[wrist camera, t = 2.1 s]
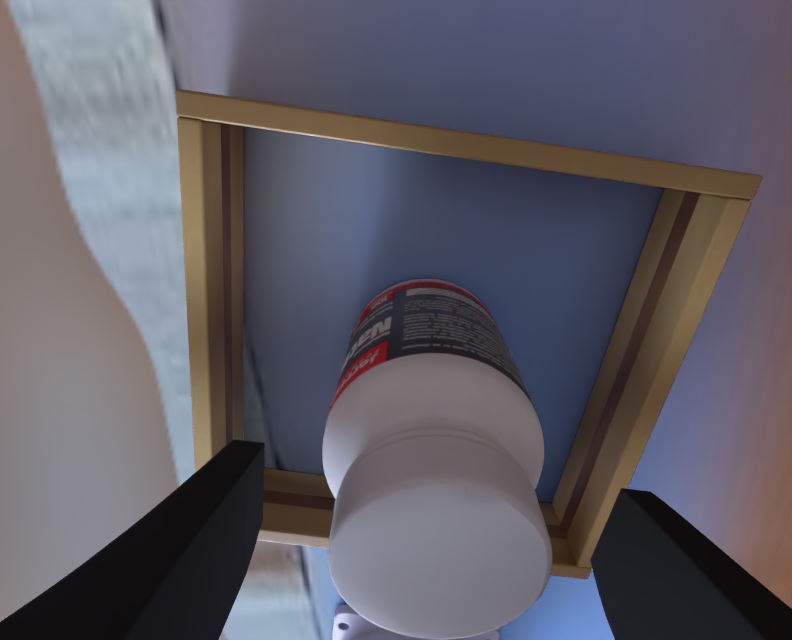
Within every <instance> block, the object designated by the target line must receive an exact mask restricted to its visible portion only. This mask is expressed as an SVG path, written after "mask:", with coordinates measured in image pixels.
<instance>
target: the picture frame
mask: <svg viewBox="0 0 792 640" xmlns="http://www.w3.org/2000/svg"><path fill="white" fill-rule="evenodd" d="M176 106H177V115H178V116H179V118H178V119H177V125H178V145H179V164H180V184H181V203H182V223H183V242H184V261H185V281H186V300H187V320H188V339H189V359H190V378H191V397H192V417H193V436H194V456H195V473H196V472H197V471H198V470H199V469H200V468H201V467H202V466H203V465H205V464H206V463H207V462H208V461H209V460H210V459H211V458H212V457H213V456H215V455H216V454H217V453H218V452H219V451H220V450H221V449H222V448H223V447H225V446H226V445H227V444H228V443H229V442H231V441H232V440H242V441H243V277H244V126H245V127H252V128H259V129H266V130H272V131H279V132H286V133H293V134H300V135H307V136H313V137H320V138H327V139H334V140H341V141H348V142H354V143H361V144H368V145H375V146H382V147H389V148H395V149H402V150H409V151H416V152H423V153H430V154H436V155H443V156H450V157H457V158H464V159H471V160H478V161H484V162H491V163H498V164H505V165H512V166H519V167H525V168H532V169H539V170H546V171H553V172H560V173H566V174H573V175H580V176H587V177H594V178H601V179H607V180H614V181H621V182H628V183H635V184H642V185H648V186H655V187H662V188H664V191H663V194H662V197H661V200H660V202H659V205H658V208H657V211H656V214H655V216H654V219H653V222H652V225H651V228H650V230H649V233H648V236H647V239H646V241H645V244H644V247H643V250H642V253H641V255H640V258H639V261H638V264H637V267H636V269H635V272H634V275H633V278H632V281H631V283H630V286H629V289H628V292H627V295H626V297H625V300H624V303H623V306H622V309H621V311H620V314H619V317H618V320H617V323H616V325H615V328H614V331H613V334H612V337H611V339H610V342H609V345H608V348H607V351H606V353H605V356H604V359H603V362H602V365H601V367H600V370H599V373H598V376H597V379H596V381H595V384H594V387H593V390H592V393H591V395H590V398H589V401H588V404H587V407H586V409H585V412H584V415H583V418H582V421H581V423H580V426H579V429H578V432H577V434H576V437H575V440H574V443H573V446H572V448H571V451H570V454H569V457H568V460H567V462H566V465H565V468H564V471H563V474H562V476H561V479H560V482H559V485H558V488H557V490H556V493H555V496H554V499H553V502H552V504H549V503H541V502H538V503H539V506H540V509H541V512H542V515H543V518H544V521H545V524H546V528H547V531H548V534H549V537H550V542H551V547H552V569H551V574H550V575H554V576H562V577H571V578H579V579H588V577H589V574H590V572H591V568H592V565H591V561H590V559H591V557H592V554H593V552H594V550H595V547H596V545H597V543H598V540H599V538H600V536H601V534H602V531H603V529H604V527H605V524H606V522H607V520H608V517H609V515H610V513H611V510H612V508H613V506H614V503H615V501H616V499H617V497H618V494H619V492H620V490H621V488H624V489H627V487H628V485H629V483H630V480H631V478H632V476H633V473H634V471H635V469H636V467H637V464H638V462H639V460H640V457H641V455H642V453H643V451H644V448H645V446H646V444H647V441H648V439H649V437H650V434H651V432H652V430H653V428H654V425H655V423H656V421H657V418H658V416H659V414H660V412H661V409H662V407H663V405H664V402H665V400H666V398H667V396H668V393H669V391H670V389H671V386H672V384H673V382H674V380H675V377H676V375H677V373H678V370H679V368H680V366H681V363H682V361H683V359H684V357H685V354H686V352H687V350H688V347H689V345H690V343H691V341H692V338H693V336H694V334H695V331H696V329H697V327H698V325H699V322H700V320H701V318H702V315H703V313H704V311H705V308H706V306H707V304H708V302H709V299H710V297H711V295H712V292H713V290H714V288H715V286H716V283H717V281H718V279H719V276H720V274H721V272H722V270H723V267H724V265H725V263H726V260H727V258H728V256H729V254H730V251H731V249H732V247H733V244H734V242H735V240H736V237H737V235H738V233H739V231H740V228H741V226H742V224H743V221H744V219H745V217H746V215H747V212H748V210H749V208H750V205H751V201H749V200H752V199H753V198H754V196H755V194H756V192H757V189H758V187H759V185H760V183H761V180H762V176H760V175H756V174H750V173H743V172H736V171H729V170H723V169H716V168H709V167H702V166H696V165H689V164H682V163H675V162H668V161H662V160H655V159H648V158H641V157H635V156H628V155H621V154H614V153H608V152H601V151H594V150H587V149H581V148H574V147H567V146H560V145H554V144H547V143H540V142H533V141H527V140H520V139H513V138H506V137H500V136H493V135H486V134H479V133H473V132H466V131H459V130H452V129H446V128H439V127H432V126H425V125H419V124H412V123H405V122H398V121H392V120H385V119H378V118H371V117H365V116H358V115H351V114H344V113H337V112H331V111H324V110H317V109H310V108H304V107H297V106H290V105H283V104H277V103H270V102H263V101H256V100H250V99H243V98H236V97H229V96H223V95H216V94H209V93H202V92H196V91H189V90H182V89H178V90H176ZM335 500H336V499H335V497H334V496H333V494H332V492H331V490H330V487H329V485H328V483H327V479H326V476H324V475H316V474H308V473H299V472H291V471H283V470H275V469H267V468H264V488H263V521H262V524H261V528H260V531H259V534H258V538H257V540H261V541H270V542H278V543H286V544H295V545H303V546H311V547H320V548H328V545H329V537H330V531H331V525H332V520H333V515H334V504H335Z"/></svg>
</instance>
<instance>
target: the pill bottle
mask: <svg viewBox="0 0 792 640" xmlns="http://www.w3.org/2000/svg"><path fill="white" fill-rule="evenodd" d="M322 458H323V468H324V473H325V476H326V479H327V483H328V485H329V487H330V490H331V492H332V494H333V496H334V497H335V499H336V500H335V504H334V515H333V520H332V525H331V531H330V537H329V545H328V566H329V571H330V574H331V577H332V580H333V583H334V585H335V587H336V589H337V591H338V592H339V594H340V595H341V597H342V598H343V600H344V601H345V602H346V603H347V604H348V605H349V606H350V607H351V608H352V609H354V610H355V611H356V612H357V613H358V614H359V615H360V616H362V617H364V618H365V619H367V620H368V621H370V622H372V623H373V624H375V625H377V626H379V627H382V628H384V629H387V630H389V631H392V632H395V633H398V634H402V635H406V636H410V637H417V638H425V639H442V640H444V639H456V638H465V637H471V636H476V635H480V634H483V633H486V632H490V631H492V630H495V629H497V628H500V627H502V626H504V625H506V624H508V623H510V622H511V621H513V620H515V619H516V618H518V617H519V616H520V615H522V614H523V613H524V612H525V611H527V610H528V609H529V608H530V607H531V606H532V605H533V604H534V602H535V601H537V600H538V598H539V597H540V596H541V594H542V592H543V591H544V589H545V587H546V585H547V582H548V580H549V578H550V574H551V569H552V547H551V542H550V537H549V534H548V531H547V528H546V524H545V521H544V518H543V515H542V512H541V509H540V506H539V503H538V499H537V496H536V493H535V489H536V487H537V485H538V482H539V478H540V475H541V472H542V467H543V462H544V439H543V434H542V429H541V425H540V422H539V419H538V416H537V413H536V410H535V408H534V406H533V403H532V401H531V399H530V397H529V394H528V392H527V390H526V388H525V385H524V383H523V381H522V378H521V376H520V374H519V372H518V370H517V367H516V365H515V363H514V361H513V359H512V357H511V354H510V352H509V350H508V348H507V346H506V344H505V341H504V339H503V337H502V335H501V333H500V331H499V329H498V326H497V324H496V322H495V321H494V319H493V317H492V315H491V313H490V312H489V310H488V309H487V308H486V306H485V305H484V304H483V303H482V302H481V301H480V300H479V299H478V298H477V297H476V296H475V295H473V294H472V293H471V292H469V291H468V290H466V289H464V288H463V287H461V286H458V285H456V284H453V283H451V282H447V281H444V280H439V279H414V280H408V281H404V282H401V283H398V284H395V285H393V286H391V287H389V288H387V289H385V290H384V291H382V292H381V293H379V294H378V295H377V296H375V297H374V298H373V299H372V300H371V301H370V302H369V303H368V304H367V305H366V307H365V308H364V309H363V311H362V312H361V314H360V316H359V317H358V319H357V322H356V324H355V326H354V329H353V332H352V335H351V339H350V343H349V346H348V350H347V354H346V357H345V361H344V364H343V368H342V371H341V374H340V377H339V380H338V385H337V388H336V391H335V394H334V398H333V401H332V404H331V407H330V410H329V414H328V418H327V422H326V426H325V432H324V438H323V448H322Z"/></svg>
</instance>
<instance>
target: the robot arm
mask: <svg viewBox="0 0 792 640" xmlns="http://www.w3.org/2000/svg"><path fill="white" fill-rule="evenodd" d="M264 446H265V443H258V442H250V441H242V440H232V441H231V442H229V443H228V444H227V445H226V446H225V447H223V448H222V449H221V450H220V451H219V452H218V453H217V454H216V455H215V456H213V457H212V458H211V459H210V460H209V461H208V462H207V463H206V464H205V465H203V466H202V467H201V468H200V469H199V470H198V471H197V472H196V473H194V474H193V475H192V476H191V477H190V478H189V479H188V480H186V481H185V482H184V483H183V484H182V485H181V486H180V487H178V488H177V489H176V490H175V491H174V492H173V493H171V494H170V495H169V496H168V497H167V498H165V499H164V500H163V501H162V502H161V503H159V504H158V505H157V506H156V507H155V508H153V509H152V510H151V511H150V512H149V513H147V514H146V515H145V516H144V517H143V518H141V519H140V520H139V521H138V522H136V523H135V524H134V525H133V526H131V527H130V528H129V529H128V530H126V531H125V532H124V533H122V534H121V535H120V536H119V537H117V538H116V539H115V540H113V541H112V542H111V543H109V544H108V545H107V546H106V547H104V548H103V549H102V550H100V551H99V552H98V553H96V554H95V555H94V556H93V557H91V558H90V559H89V560H88V561H86V562H85V563H83V564H82V565H81V566H80V567H78V568H77V569H75V570H74V571H73V572H71V573H70V574H68V575H67V576H66V577H64V578H63V579H62V580H60V581H59V582H57V583H56V584H55V585H53V586H52V587H50V588H49V589H48V590H47V591H45V592H43V593H42V594H40V595H39V596H38V597H36V598H35V599H33V600H32V601H30V602H29V603H27V604H26V605H24V606H23V607H22V608H20V609H19V610H17V611H16V612H14V613H13V614H11V615H10V616H8V617H7V618H5V619H4V620H2V621H1V622H0V640H218V639H219V637H220V635H221V632H222V630H223V628H224V625H225V623H226V621H227V618H228V616H229V613H230V611H231V609H232V606H233V604H234V602H235V599H236V597H237V595H238V592H239V590H240V587H241V585H242V583H243V580H244V578H245V575H246V573H247V570H248V567H249V563H250V560H251V557H252V554H253V551H254V548H255V544H256V541H257V538H258V534H259V531H260V528H261V524H262V521H263V488H264ZM590 561H591V565H592V569H593V573H594V577H595V580H596V584H597V588H598V591H599V595H600V598H601V601H602V605H603V608H604V611H605V615H606V617H607V620H608V623H609V625H610V628H611V630H612V633H613V635H614V638H615V640H792V609H791V608H790V607H789V606H787V605H786V604H785V603H784V602H783V601H781V600H780V599H779V598H778V597H777V596H775V595H774V594H773V593H772V592H771V591H769V590H768V589H767V588H766V587H765V586H763V585H762V584H761V583H760V582H759V581H757V580H756V579H755V578H754V577H753V576H751V575H750V574H749V573H748V572H747V571H745V570H744V569H743V568H742V567H741V566H740V565H738V564H737V563H736V562H735V561H734V560H733V559H731V558H730V557H729V556H728V555H727V554H725V553H724V552H723V551H722V550H721V549H720V548H718V547H717V546H716V545H715V544H714V543H713V542H711V541H710V540H709V539H708V538H707V537H706V536H704V535H703V534H702V533H701V532H700V531H698V530H697V529H696V528H695V527H694V526H693V525H691V524H690V523H689V522H688V521H687V520H685V519H684V518H683V517H682V516H681V515H679V514H678V513H677V512H676V511H675V510H673V509H672V508H671V507H670V506H668V505H667V504H666V503H665V502H663V501H662V500H661V499H660V498H658V497H657V496H656V495H654V494H653V493H652V492H648V491H640V490H632V489H624V488H621V490H620V492H619V494H618V497H617V499H616V501H615V503H614V506H613V508H612V510H611V513H610V515H609V517H608V520H607V522H606V524H605V527H604V529H603V531H602V534H601V536H600V538H599V540H598V543H597V545H596V547H595V550H594V552H593V554H592V557H591V559H590ZM499 637H500V632H499V628H497V629H495V630H492V631H490V632H486V633H483V634H480V635H476V636H471V637H465V638H456V639H444V640H498V639H499ZM331 640H442V639H425V638H417V637H410V636H406V635H402V634H398V633H395V632H392V631H389V630H387V629H384V628H382V627H379V626H377V625H375V624H373V623H372V622H370V621H368V620H367V619H365V618H364V617H362V616H360V615H359V614H358V613H357V612H356V611H355V610H354V609H352V608H351V607H350V606H349V605H341V606H339V607H337V608H336V610H335V615H334V622H333V630H332V639H331Z"/></svg>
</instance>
